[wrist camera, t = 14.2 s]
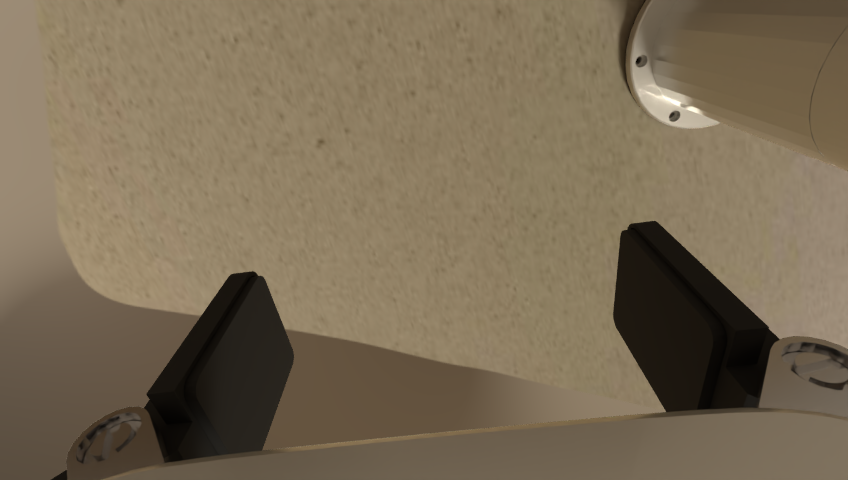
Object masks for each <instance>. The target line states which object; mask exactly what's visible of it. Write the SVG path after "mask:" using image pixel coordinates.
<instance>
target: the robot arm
mask: <svg viewBox="0 0 848 480" xmlns="http://www.w3.org/2000/svg"><path fill="white" fill-rule="evenodd" d="M638 57H639V61H638V62H637V63H635V62H636V59H637V58H638ZM625 67H626V75H627V82H628V85H629V88H630V91H631V94H632V96H633V97H634V99H635V101H636V102H637V104H638V105H639V107H640V108H641V109H642V110H643V111H644V112H646V113H647V114H648V115H649V116H650V117H652V118H654V119H656V120H657V121H659V122H661V123H663V124H666V125H668V126H671V127H676V128H682V129H700V128H705V127H710V126H714V125H717V124H720V123H723V124H726V125H728V126H731V127H734V128H736V129H739V130H741V131H744V132H747V133H749V134H752V135H754V136H757V137H759V138H762V139H765V140H767V141H770V142H772V143H775V144H777V145H780V146H783V147H785V148H788V149H790V150H793V151H796V152H798V153H801V154H803V155H806V156H808V157H811V158H814V159H816V160H819V161H822V162H824V163H827V164H829V165H832V166H835V167H838V168H840V169H843V170H846V171H848V0H646V1H645V3H644V4H643V6H642V8H641V9H640V11H639V13H638V15H637V17H636V20H635V22H634V25H633V27H632V30H631V32H630V36H629V40H628V45H627V49H626V64H625ZM670 114H671V115H670ZM669 115H670V116H669ZM613 317H614V323H615V326H616V328H617V330H618V331H619V333H620V335H621V336H622V338H623V340H624V341H625V343H626V345H627V346H628V348H629V350H630V351H631V353H632V355H633V357H634V358H635V360H636V362H637V363H638V365H639V367H640V368H641V370H642V372H643V373H644V375H645V377H646V378H647V380H648V382H649V383H650V385H651V387H652V388H653V390H654V392H655V394H656V395H657V397H658V399H659V400H660V402H661V404H662V405H663V407H664V409H665V410H666V412H663V413H651V414H638V415H624V416H613V417H602V418H591V419H581V420H569V421H558V422H548V423H537V424H526V425H514V426H503V427H493V428H483V429H472V430H462V431H452V432H441V433H430V434H421V435H410V436H400V437H391V438H390V437H389V438H379V439H370V440H359V441H350V442H340V443H330V444H320V445H311V446H301V447H291V448H282V449H272V450H262V449H263V446H264V443H265V440H266V438H267V435H268V432H269V429H270V426H271V423H272V421H273V418H274V415H275V412H276V410H277V407H278V404H279V401H280V398H281V396H282V393H283V390H284V387H285V384H286V382H287V378H288V376H289V373H290V370H291V368H292V365H293V360H294V354H293V349H292V347H291V344H290V342H289V339H288V336H287V334H286V331H285V329H284V326H283V324H282V321H281V319H280V316H279V314H278V311H277V309H276V306H275V304H274V301H273V299H272V296H271V294H270V291H269V288H268V286H267V283H266V281H265V279H264V278H263V276H258V275H257V274H256V273H255V272H253V271H252V272H244V273H236V274H231V275H230V276H229V277H228V279H227V280H226V281H225V283H224V284H223V286H222V287H221V289H220V290H219V291H218V293H217V294H216V296H215V297H214V299H213V300H212V301H211V303H210V304H209V306H208V307H207V309H206V310H205V311H204V313H203V314H202V316H201V317H200V318H199V320H198V321H197V323H196V324H195V326H194V327H193V329H192V330H191V331H190V333H189V334H188V336H187V337H186V338H185V340H184V341H183V343H182V344H181V346H180V347H179V349H178V350H177V351H176V353H175V354H174V356H173V357H172V358H171V360H170V361H169V363H168V364H167V366H166V367H165V368H164V370H163V371H162V373H161V374H160V376H159V377H158V378H157V380H156V381H155V383H154V384H153V386H152V387H151V388H150V390H149V391H148V393H147V396H148V397H149V399H150V400H149V401H148V403H147V404H146V406H145V407H144V408H142V407H139V406H136V407H126V408H122V409H119V410H116V411H114V412H112V413H110V414H107V415H105V416H104V417H102V418H101V419H99V420H97V421H96V422H94V423H93V424H92V425H91V426H89V427H88V428H87V429H86V430H85V431H83V432H82V433H81V435H80V436H79V437H78V438H77V439H76V440H75V441H74V443H73V444H72V446H71V448H70V450H69V452H68V454H67V460H66V467H67V470H66V471H64V472H63V473H61V474H59V475H58V476H56V477H54V478H53V479H52V480H848V349H846V348H844V347H842V346H840V345H837V344H834V343H831V342H829V341H826V340H822V339H817V338H812V337H800V336H793V337H787V338H782V339H779V338H778V337H777V336H776V335H775V334H774V333H772V332H771V331H770V330H769V329H768V328H769V327H768V326H767V325H766V324H765V323H764V322H763V321H762V320H761V319H760V318H758V317H757V316H756V315H755V314H754V313H753V312H752V311H751V310H750V309H749V308H748V307H747V306H746V305H745V304H744V303H743V302H741V301H740V300H739V299H738V298H737V297H736V296H735V295H734V294H733V293H732V292H731V291H730V290H729V289H728V288H727V287H726V286H724V285H723V284H722V283H721V282H720V281H719V280H718V279H717V278H716V277H715V276H714V275H713V274H712V273H711V272H710V271H709V270H708V269H706V268H705V267H704V266H703V265H702V264H701V263H700V262H699V261H698V260H697V259H696V258H695V257H694V256H693V255H692V254H691V253H689V252H688V251H687V250H686V249H685V248H684V247H683V246H682V245H681V244H680V243H679V242H678V241H677V240H676V239H675V238H674V237H672V236H671V235H670V234H669V233H668V232H667V231H666V230H665V229H664V228H663V227H662V226H661V225H660V224H659V223H657V222H656V221H650V222H642V223H634V224H630V225H629V227H628V229H627V230H623V231H622V233H621V237H620V248H619V258H618V269H617V280H616V290H615V301H614V312H613Z"/></svg>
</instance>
